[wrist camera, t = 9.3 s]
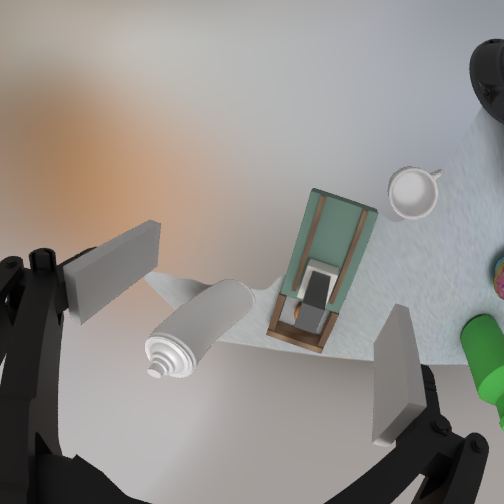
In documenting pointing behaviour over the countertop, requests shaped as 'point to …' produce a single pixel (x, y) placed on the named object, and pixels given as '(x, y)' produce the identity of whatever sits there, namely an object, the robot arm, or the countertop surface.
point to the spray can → (196, 328)
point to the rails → (347, 259)
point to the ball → (296, 311)
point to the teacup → (413, 192)
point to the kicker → (315, 294)
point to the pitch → (330, 241)
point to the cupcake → (499, 278)
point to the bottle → (486, 360)
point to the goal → (299, 330)
